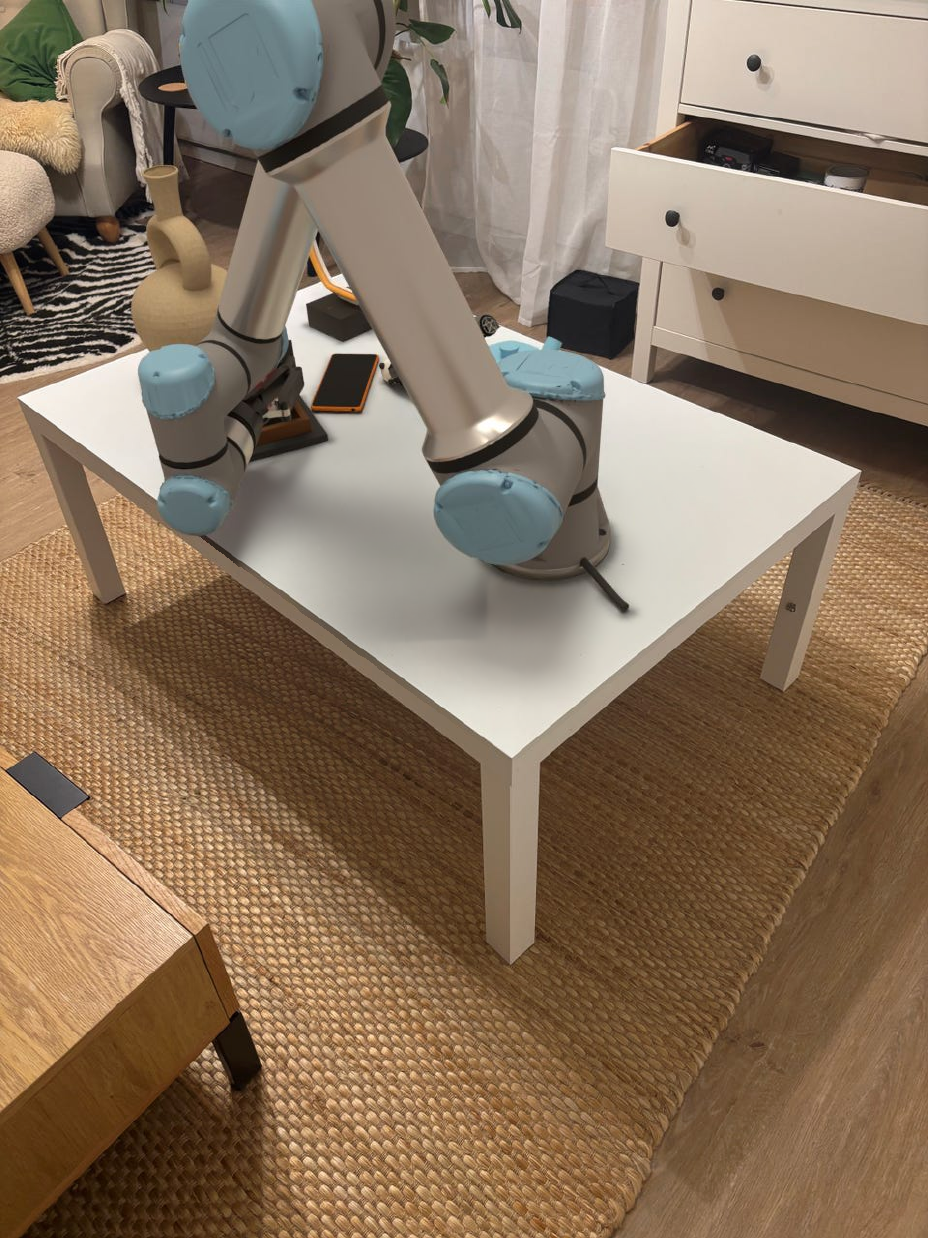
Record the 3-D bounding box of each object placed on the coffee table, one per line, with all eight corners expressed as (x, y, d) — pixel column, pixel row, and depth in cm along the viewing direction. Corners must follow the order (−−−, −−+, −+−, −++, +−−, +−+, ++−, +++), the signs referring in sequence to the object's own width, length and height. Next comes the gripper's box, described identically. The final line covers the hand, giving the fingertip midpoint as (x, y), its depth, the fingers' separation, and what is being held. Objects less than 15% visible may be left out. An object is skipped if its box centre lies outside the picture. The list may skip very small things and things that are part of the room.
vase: (280, 378, 151) (244, 171, 131) (179, 415, 143) (124, 201, 123) (229, 340, 161) (189, 142, 141) (132, 372, 153) (75, 169, 133)
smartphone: (379, 357, 154) (379, 352, 154) (361, 413, 142) (361, 408, 141) (331, 356, 155) (331, 351, 154) (309, 412, 142) (308, 407, 142)
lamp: (293, 318, 166) (261, 111, 145) (335, 301, 170) (309, 98, 149) (359, 349, 157) (335, 133, 136) (401, 330, 161) (384, 118, 140)
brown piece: (328, 440, 137) (325, 421, 135) (236, 465, 133) (232, 445, 131) (299, 398, 146) (296, 379, 144) (212, 420, 142) (207, 401, 140)
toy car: (478, 376, 158) (449, 327, 157) (524, 345, 148) (493, 292, 146) (397, 423, 149) (366, 371, 147) (440, 393, 138) (407, 337, 137)
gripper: (153, 464, 123) (202, 373, 140) (306, 466, 122) (337, 374, 139) (138, 410, 118) (191, 322, 135) (297, 412, 117) (331, 323, 134)
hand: (265, 348), depth 137 cm, fingers closed on beverage can, 6 cm apart
